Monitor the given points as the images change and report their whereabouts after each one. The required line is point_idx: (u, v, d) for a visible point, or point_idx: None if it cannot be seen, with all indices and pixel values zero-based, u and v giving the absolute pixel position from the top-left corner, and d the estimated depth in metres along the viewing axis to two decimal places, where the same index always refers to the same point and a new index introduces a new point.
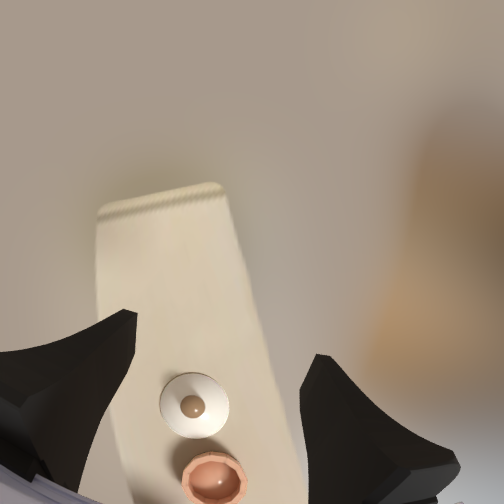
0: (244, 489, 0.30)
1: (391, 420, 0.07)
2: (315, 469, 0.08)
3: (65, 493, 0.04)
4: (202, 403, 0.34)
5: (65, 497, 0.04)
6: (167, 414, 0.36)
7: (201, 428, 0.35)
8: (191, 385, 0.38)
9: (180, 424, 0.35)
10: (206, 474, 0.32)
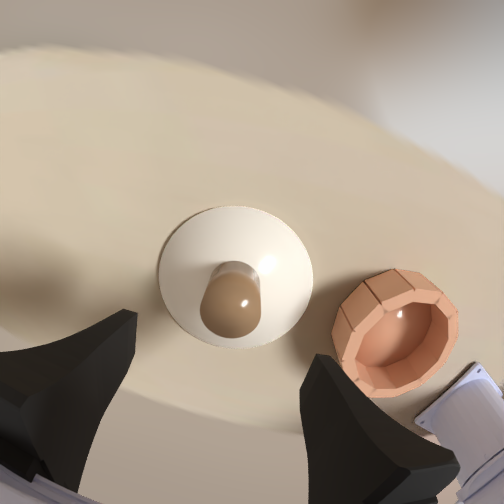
0: (450, 307, 0.16)
1: (391, 420, 0.07)
2: (315, 469, 0.08)
3: (65, 493, 0.04)
4: (233, 288, 0.15)
5: (65, 497, 0.04)
6: (226, 339, 0.19)
7: (287, 296, 0.18)
8: (188, 265, 0.18)
9: (257, 327, 0.19)
10: (374, 336, 0.19)
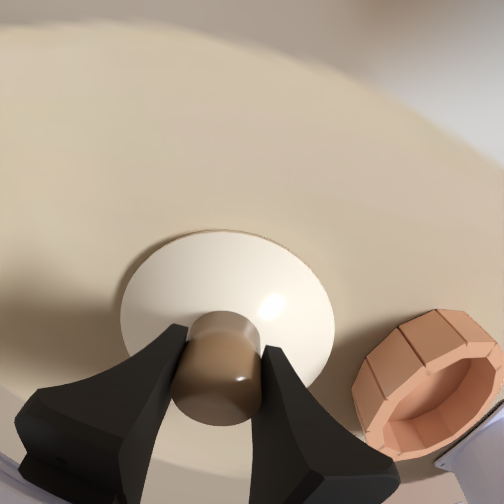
0: (501, 357, 0.10)
1: (329, 418, 0.07)
2: (256, 465, 0.08)
3: None
4: (219, 369, 0.09)
5: (65, 497, 0.04)
6: None
7: (298, 356, 0.13)
8: (158, 315, 0.12)
9: None
10: None
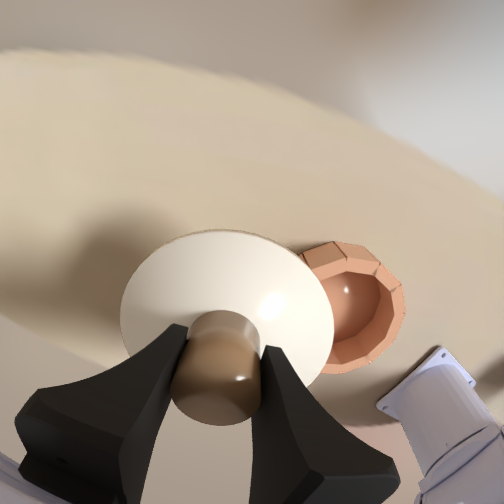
0: (392, 279, 0.17)
1: (329, 418, 0.07)
2: (256, 465, 0.08)
3: None
4: (219, 368, 0.09)
5: (65, 497, 0.04)
6: None
7: (297, 356, 0.13)
8: (157, 315, 0.12)
9: None
10: None
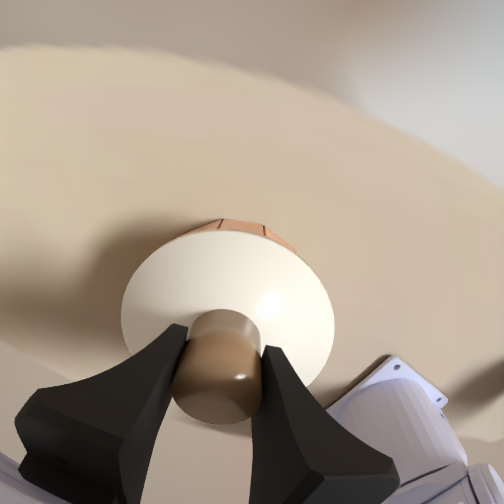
0: None
1: (329, 418, 0.07)
2: (256, 465, 0.08)
3: None
4: (220, 366, 0.09)
5: (65, 497, 0.04)
6: None
7: (298, 354, 0.13)
8: (158, 314, 0.12)
9: None
10: None
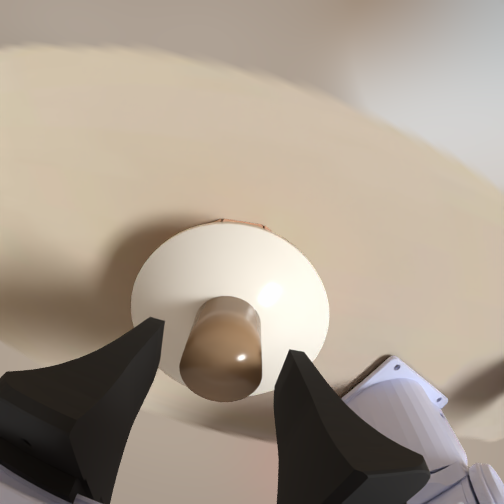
0: None
1: (359, 419, 0.07)
2: (284, 467, 0.08)
3: None
4: (224, 345, 0.10)
5: (65, 497, 0.04)
6: None
7: (295, 339, 0.14)
8: (166, 301, 0.13)
9: None
10: None
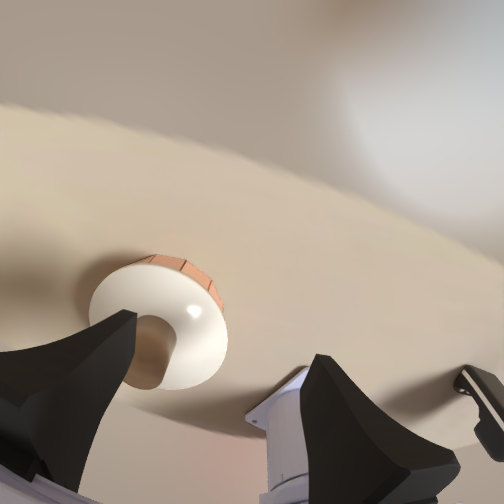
0: None
1: (391, 420, 0.07)
2: (315, 469, 0.08)
3: (65, 493, 0.04)
4: (136, 350, 0.14)
5: (65, 497, 0.04)
6: None
7: (203, 349, 0.18)
8: None
9: (179, 373, 0.19)
10: None
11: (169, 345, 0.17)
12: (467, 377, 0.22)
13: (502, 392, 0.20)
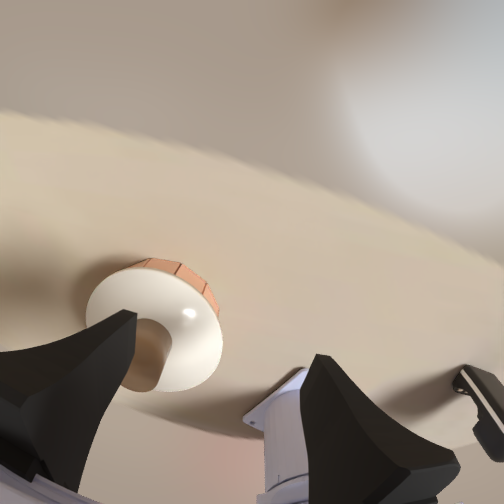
0: None
1: (391, 420, 0.07)
2: (315, 469, 0.08)
3: (65, 493, 0.04)
4: None
5: (65, 497, 0.04)
6: None
7: (199, 351, 0.18)
8: None
9: (175, 375, 0.19)
10: None
11: (164, 348, 0.17)
12: (465, 377, 0.22)
13: (501, 392, 0.20)
